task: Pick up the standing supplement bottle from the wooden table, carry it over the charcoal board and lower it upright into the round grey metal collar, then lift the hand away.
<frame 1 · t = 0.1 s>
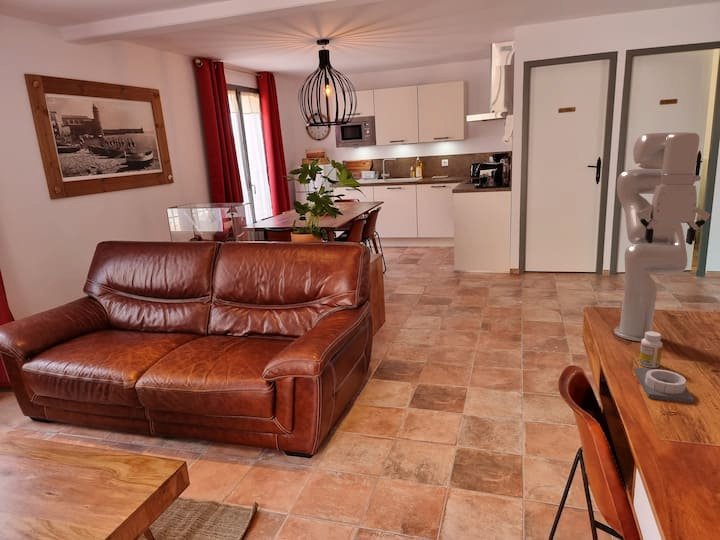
hand: (668, 243, 134), 37 cm above the counter, tool pointing down, fingers open, 9 cm apart
collar board: (661, 386, 131), on the counter
supplement bottle: (648, 365, 144), on the counter
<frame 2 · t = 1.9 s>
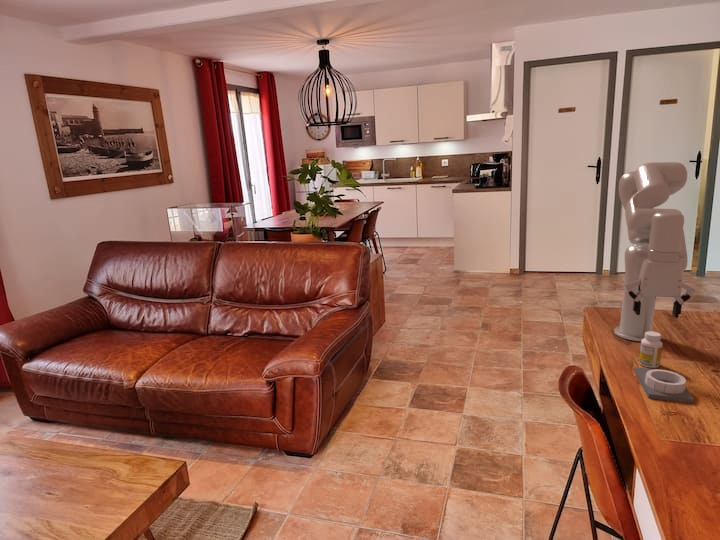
hand: (655, 315, 139), 16 cm above the counter, tool pointing down, fingers open, 9 cm apart
nothing on the counter moved.
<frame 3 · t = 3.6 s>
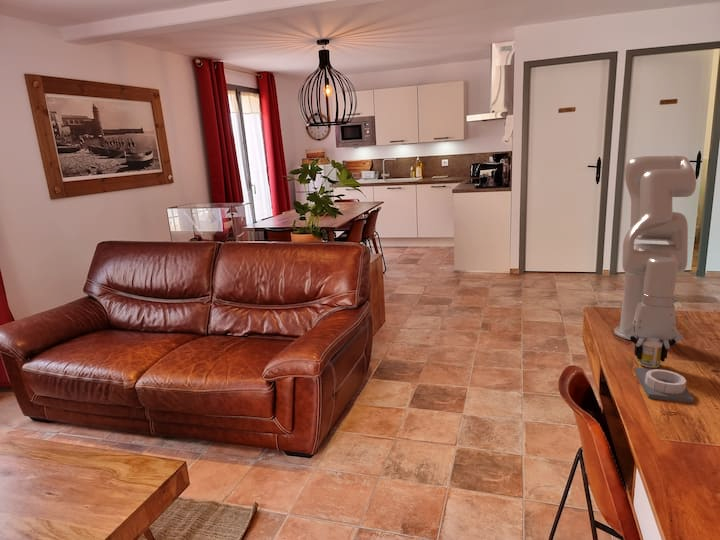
hand: (649, 358, 143), 2 cm above the counter, tool pointing down, fingers closed on supplement bottle, 5 cm apart
supplement bottle: (648, 365, 144), on the counter, touching gripper
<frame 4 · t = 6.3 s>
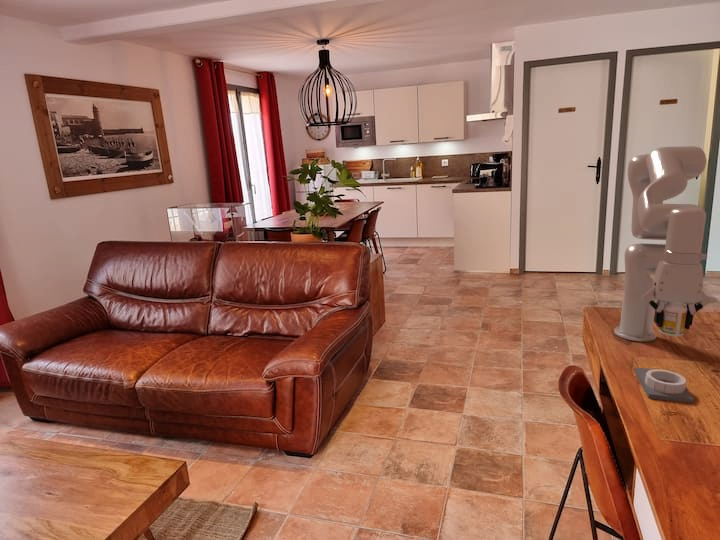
hand: (672, 325, 125), 18 cm above the counter, tool pointing down, fingers closed on supplement bottle, 5 cm apart
supplement bottle: (671, 333, 125), point 16 cm above the counter, touching gripper
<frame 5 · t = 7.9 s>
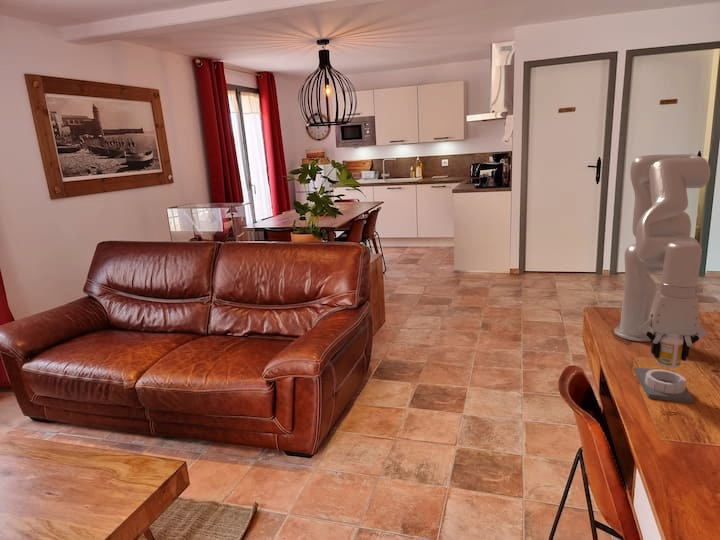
hand: (668, 356, 126), 9 cm above the counter, tool pointing down, fingers closed on supplement bottle, 5 cm apart
supplement bottle: (667, 364, 127), point 7 cm above the counter, touching gripper
when the fingers open (4 cm above the counter, at t = 9.3 s): supplement bottle drops 1 cm, resting on collar board.
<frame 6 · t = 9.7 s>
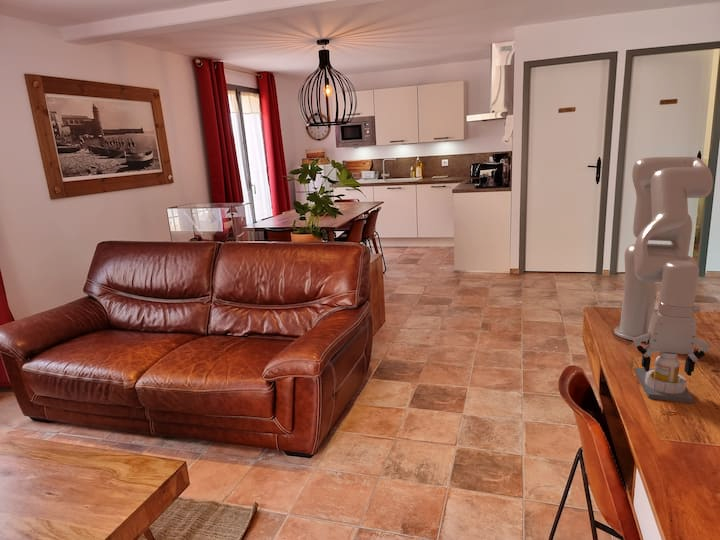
hand: (666, 371, 128), 5 cm above the counter, tool pointing down, fingers open, 9 cm apart
supplement bottle: (664, 385, 129), point 1 cm above the counter, touching collar board
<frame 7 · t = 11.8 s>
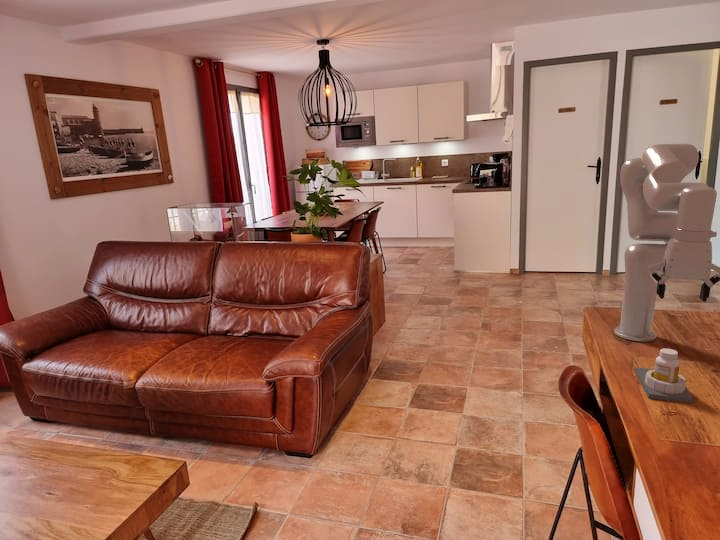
hand: (681, 298, 129), 23 cm above the counter, tool pointing down, fingers open, 9 cm apart
nothing on the counter moved.
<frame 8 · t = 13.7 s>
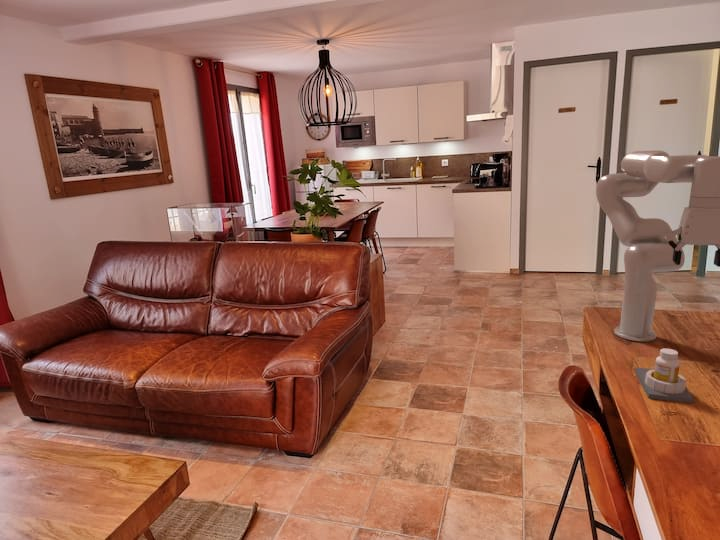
hand: (696, 264, 135), 30 cm above the counter, tool pointing down, fingers open, 9 cm apart
nothing on the counter moved.
at the end: supplement bottle 0.2 cm from the target spot on the collar board, point 1.0 cm above the collar board's base; supplement bottle tilted 0°; the gripper is holding nothing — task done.
